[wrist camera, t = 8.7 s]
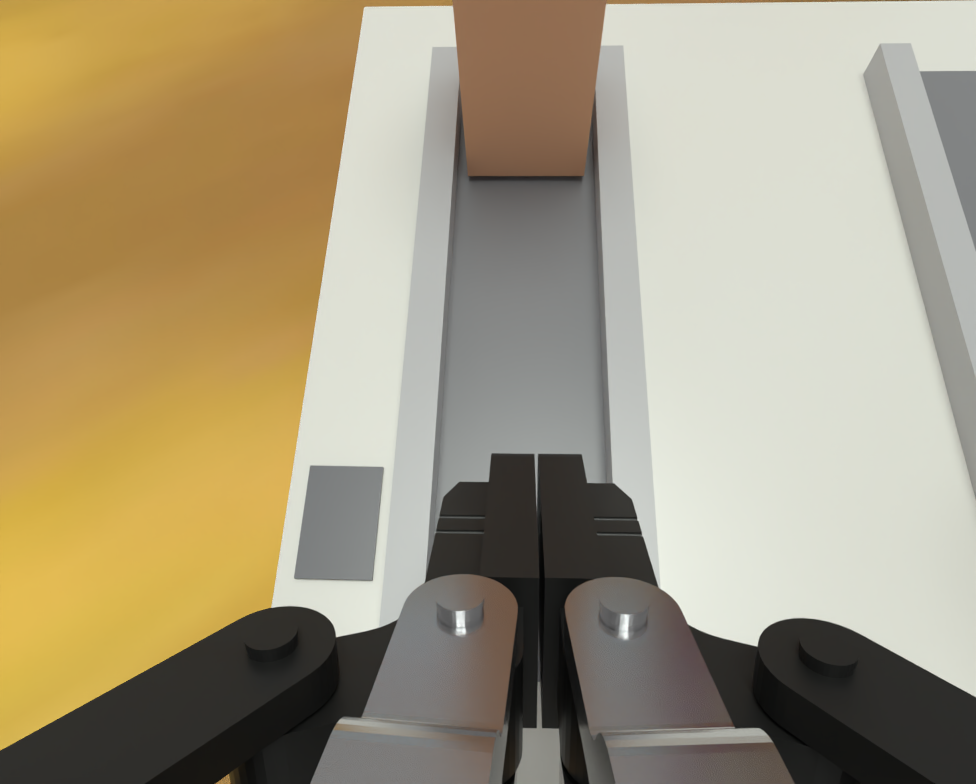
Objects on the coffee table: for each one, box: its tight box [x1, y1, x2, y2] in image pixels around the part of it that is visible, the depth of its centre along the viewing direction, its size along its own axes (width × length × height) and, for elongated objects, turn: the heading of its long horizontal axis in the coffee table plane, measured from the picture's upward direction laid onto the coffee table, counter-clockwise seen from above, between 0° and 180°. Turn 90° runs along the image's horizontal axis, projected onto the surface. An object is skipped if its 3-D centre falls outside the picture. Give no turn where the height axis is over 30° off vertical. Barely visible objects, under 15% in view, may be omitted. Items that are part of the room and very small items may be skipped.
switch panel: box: [271, 0, 976, 784], centre depth 17 cm, size 22×22×3 cm
